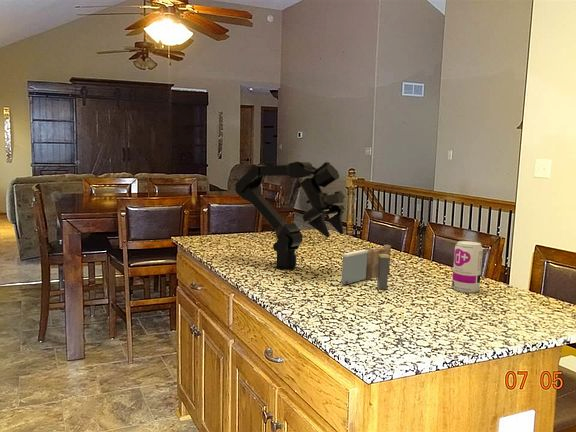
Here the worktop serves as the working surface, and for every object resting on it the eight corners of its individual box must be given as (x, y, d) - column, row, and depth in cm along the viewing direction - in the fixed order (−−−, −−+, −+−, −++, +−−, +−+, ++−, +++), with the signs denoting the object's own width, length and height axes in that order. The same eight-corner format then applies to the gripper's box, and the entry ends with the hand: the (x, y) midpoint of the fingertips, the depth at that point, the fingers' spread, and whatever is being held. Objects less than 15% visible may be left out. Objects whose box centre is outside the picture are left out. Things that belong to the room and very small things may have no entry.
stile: (376, 287, 168) (378, 253, 167) (385, 287, 168) (387, 254, 167) (378, 289, 165) (380, 255, 164) (387, 289, 166) (389, 255, 164)
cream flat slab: (361, 278, 178) (363, 249, 177) (366, 279, 177) (368, 250, 175) (340, 284, 169) (342, 253, 168) (345, 285, 168) (346, 254, 167)
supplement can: (465, 294, 164) (469, 245, 162) (446, 287, 171) (449, 241, 169) (484, 291, 168) (489, 244, 166) (465, 285, 175) (468, 240, 173)
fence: (368, 280, 177) (370, 250, 175) (360, 278, 178) (362, 249, 177) (391, 273, 187) (392, 245, 186) (383, 272, 189) (385, 244, 188)
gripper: (317, 183, 169) (340, 227, 166) (346, 181, 185) (367, 221, 181) (292, 200, 175) (314, 243, 172) (322, 197, 191) (342, 236, 187)
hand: (335, 235), depth 178 cm, fingers open, 9 cm apart
